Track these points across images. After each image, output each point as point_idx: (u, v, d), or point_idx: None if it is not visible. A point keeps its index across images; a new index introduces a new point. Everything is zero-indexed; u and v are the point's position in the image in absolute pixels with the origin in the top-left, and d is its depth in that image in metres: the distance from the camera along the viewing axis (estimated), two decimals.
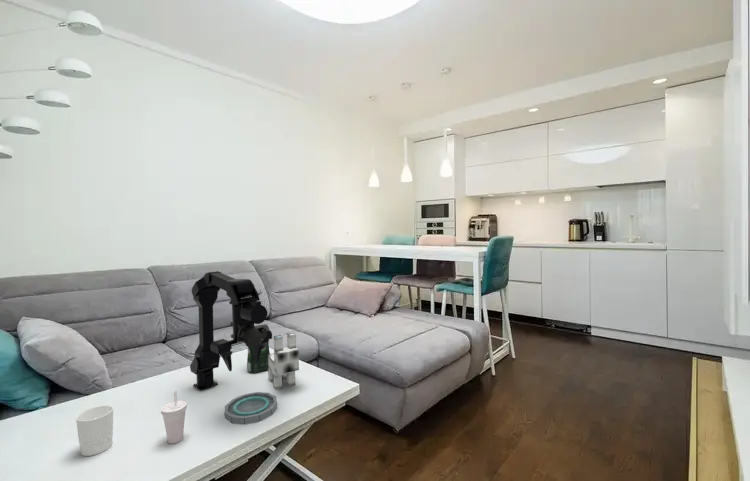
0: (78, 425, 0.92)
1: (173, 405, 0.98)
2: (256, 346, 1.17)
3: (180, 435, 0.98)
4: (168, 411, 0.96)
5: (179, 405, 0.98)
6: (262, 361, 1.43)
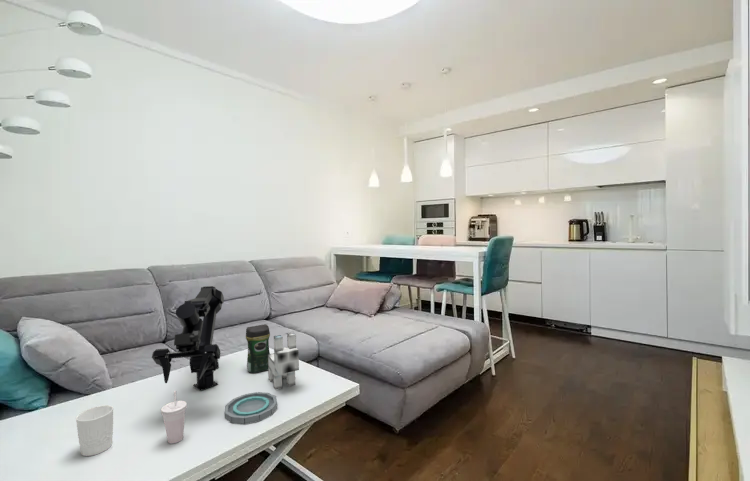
0: (78, 425, 0.92)
1: (173, 405, 0.98)
2: None
3: (180, 435, 0.98)
4: (168, 411, 0.96)
5: (179, 405, 0.98)
6: (262, 361, 1.43)
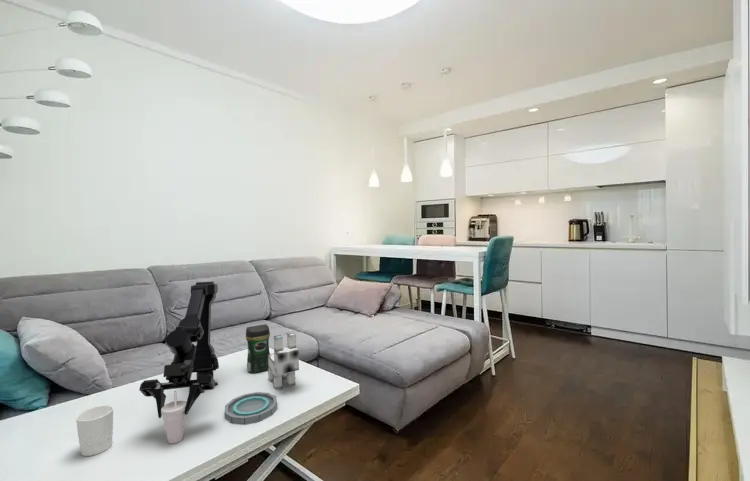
0: (78, 425, 0.92)
1: (173, 405, 0.98)
2: None
3: (180, 435, 0.98)
4: (168, 411, 0.96)
5: (179, 405, 0.98)
6: (262, 361, 1.43)
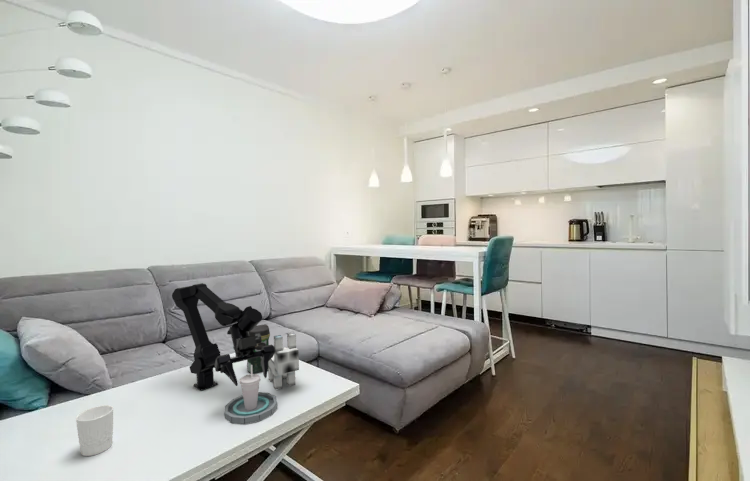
0: (78, 425, 0.92)
1: (249, 377, 1.13)
2: (262, 363, 1.18)
3: None
4: (250, 381, 1.11)
5: (254, 376, 1.14)
6: None
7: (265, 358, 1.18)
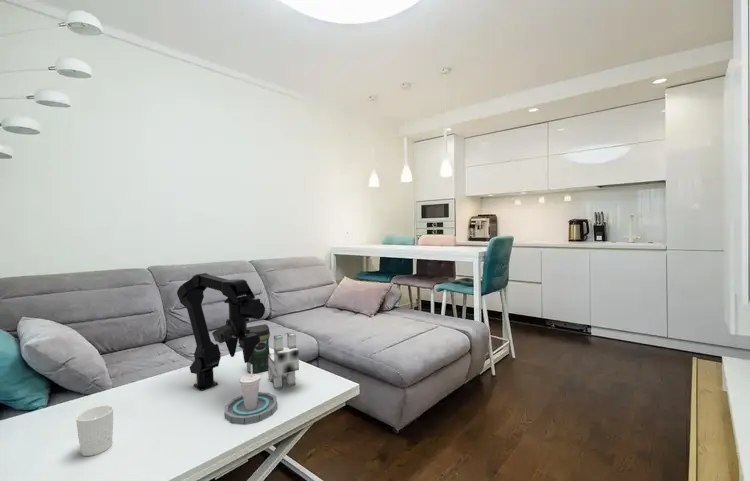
0: (78, 425, 0.92)
1: (249, 377, 1.14)
2: None
3: None
4: (250, 381, 1.11)
5: (254, 376, 1.14)
6: (262, 361, 1.43)
7: (242, 348, 1.18)
